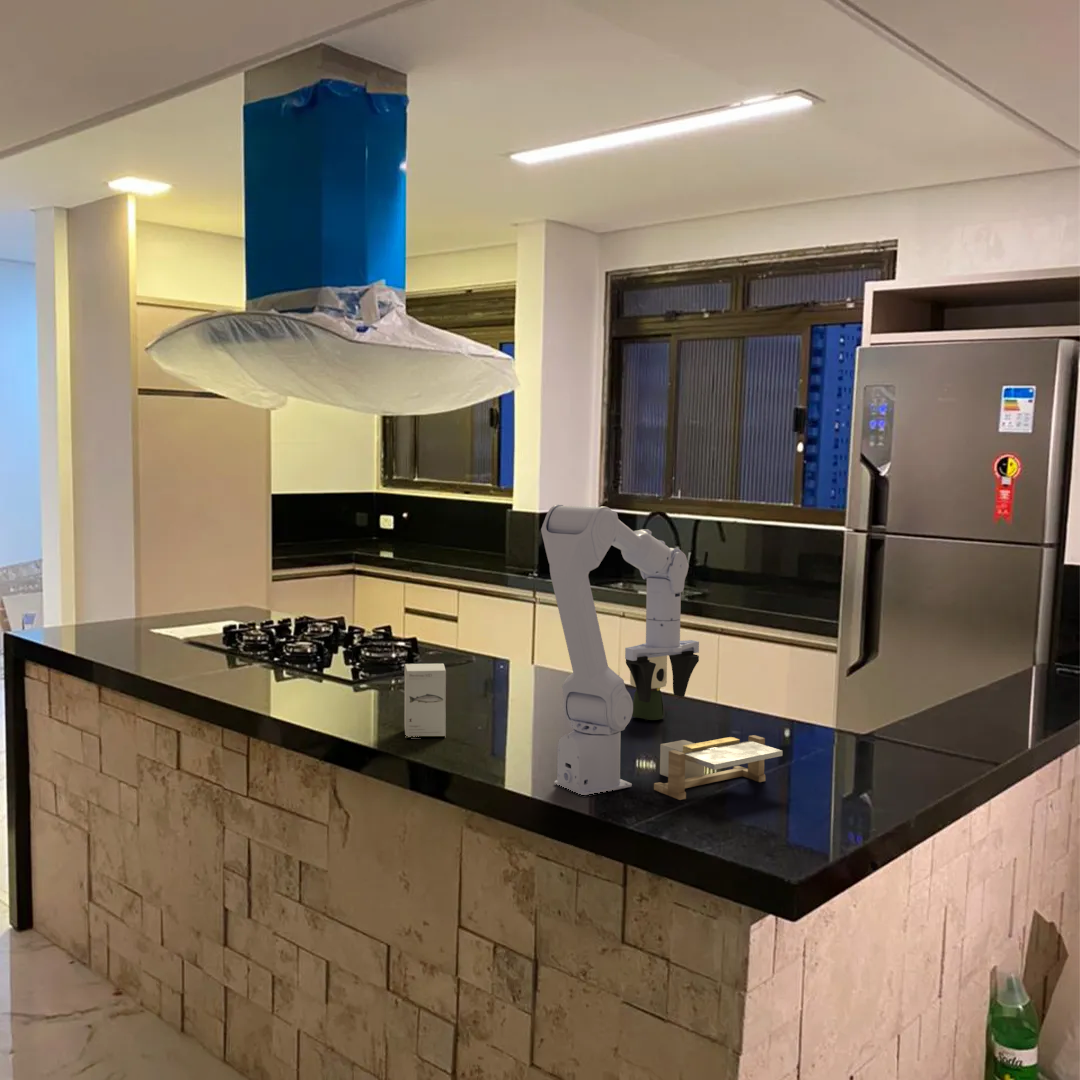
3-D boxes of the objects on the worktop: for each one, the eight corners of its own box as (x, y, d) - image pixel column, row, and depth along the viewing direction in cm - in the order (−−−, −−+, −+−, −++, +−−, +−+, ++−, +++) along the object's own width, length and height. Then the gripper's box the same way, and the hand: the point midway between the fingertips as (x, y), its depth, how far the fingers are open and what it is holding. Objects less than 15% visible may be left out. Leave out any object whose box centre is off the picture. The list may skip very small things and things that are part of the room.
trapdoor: (713, 772, 158) (713, 762, 158) (671, 758, 166) (672, 747, 166) (783, 758, 166) (783, 747, 166) (740, 744, 174) (740, 734, 174)
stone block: (680, 782, 171) (680, 751, 171) (659, 774, 176) (660, 744, 175) (704, 777, 174) (704, 746, 174) (683, 769, 178) (683, 739, 178)
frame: (679, 800, 162) (680, 755, 162) (653, 789, 167) (654, 746, 167) (765, 781, 172) (766, 738, 172) (738, 771, 177) (739, 730, 177)
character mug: (659, 727, 206) (660, 659, 205) (622, 724, 208) (623, 657, 207) (671, 714, 216) (673, 650, 215) (637, 711, 218) (638, 647, 217)
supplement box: (405, 740, 195) (405, 670, 194) (404, 729, 203) (403, 662, 202) (446, 738, 197) (446, 669, 196) (443, 728, 204) (443, 662, 203)
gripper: (644, 625, 175) (643, 708, 176) (711, 618, 183) (710, 697, 184) (617, 619, 181) (616, 700, 182) (683, 613, 189) (682, 690, 190)
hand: (661, 698), depth 183 cm, fingers open, 7 cm apart
